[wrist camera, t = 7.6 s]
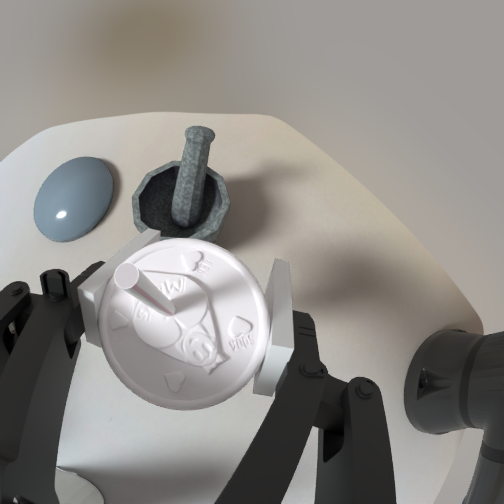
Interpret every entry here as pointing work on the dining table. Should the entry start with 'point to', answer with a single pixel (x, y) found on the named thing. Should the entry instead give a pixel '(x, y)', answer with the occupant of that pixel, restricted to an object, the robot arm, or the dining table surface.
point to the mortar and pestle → (184, 194)
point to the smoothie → (184, 324)
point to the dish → (73, 199)
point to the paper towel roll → (75, 489)
